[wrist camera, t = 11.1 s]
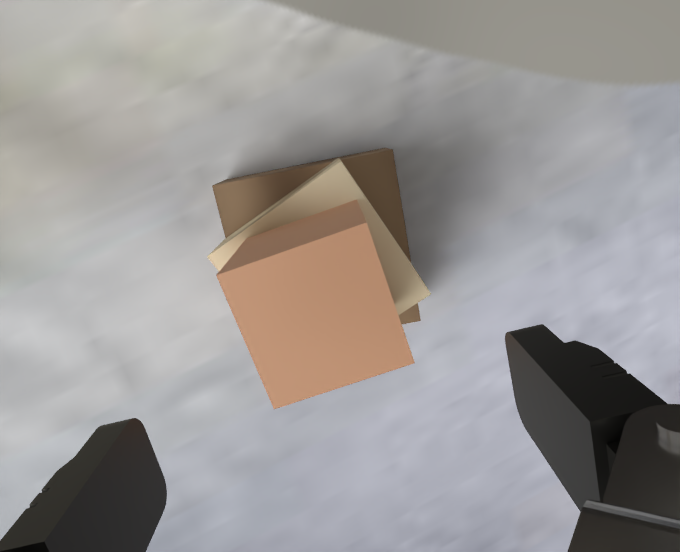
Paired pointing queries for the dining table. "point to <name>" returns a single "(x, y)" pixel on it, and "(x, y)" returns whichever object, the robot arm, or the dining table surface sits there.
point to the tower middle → (322, 195)
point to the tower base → (269, 187)
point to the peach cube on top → (315, 305)
